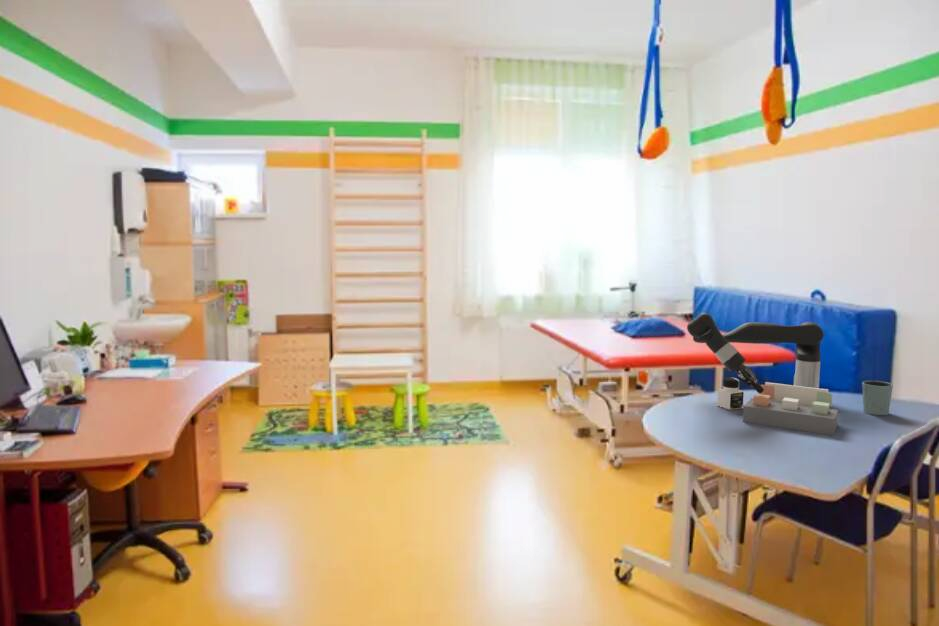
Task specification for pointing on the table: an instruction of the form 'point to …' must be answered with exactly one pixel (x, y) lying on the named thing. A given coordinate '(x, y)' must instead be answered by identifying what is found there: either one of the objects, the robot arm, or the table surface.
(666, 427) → the table surface
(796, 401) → the cream small block
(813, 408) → the sage key
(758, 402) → the terracotta key
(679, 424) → the table surface
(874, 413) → the green cup
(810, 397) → the key console
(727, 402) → the medicine bottle
